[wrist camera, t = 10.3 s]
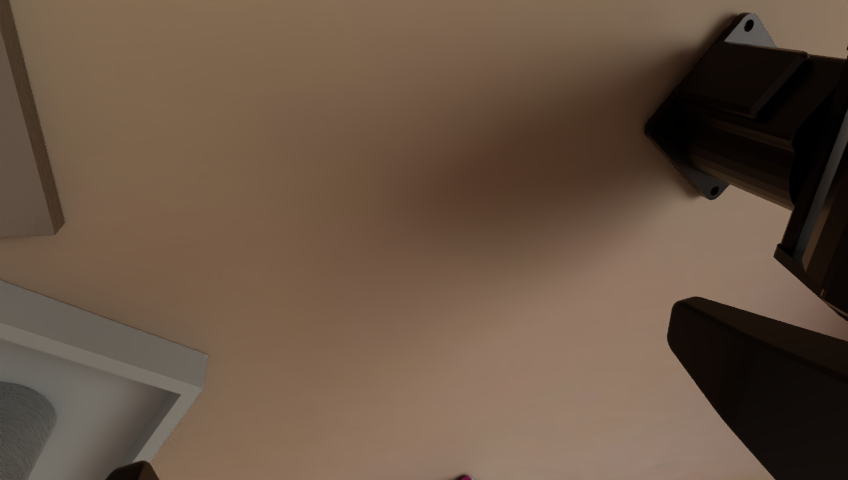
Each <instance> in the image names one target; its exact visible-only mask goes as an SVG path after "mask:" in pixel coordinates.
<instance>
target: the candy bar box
mask: <svg viewBox="0 0 848 480" xmlns="http://www.w3.org/2000/svg"><path fill="white" fill-rule="evenodd" d="M461 480H473V479H472V478H471V477H470V476H469V475H467V476H466V477H464V478H462V479H461Z"/></svg>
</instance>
